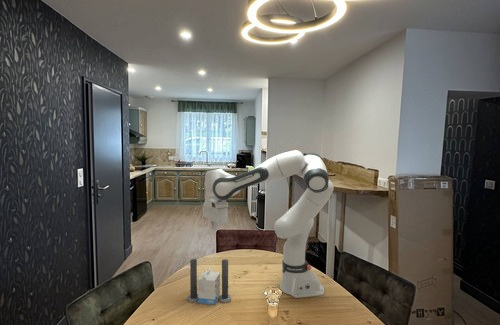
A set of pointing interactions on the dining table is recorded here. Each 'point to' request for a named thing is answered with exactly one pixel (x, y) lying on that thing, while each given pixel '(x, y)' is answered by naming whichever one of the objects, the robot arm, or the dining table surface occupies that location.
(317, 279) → the robot arm
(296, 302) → the dining table surface
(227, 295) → the post
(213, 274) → the ink box
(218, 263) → the dining table surface
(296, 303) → the dining table surface
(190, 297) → the post
